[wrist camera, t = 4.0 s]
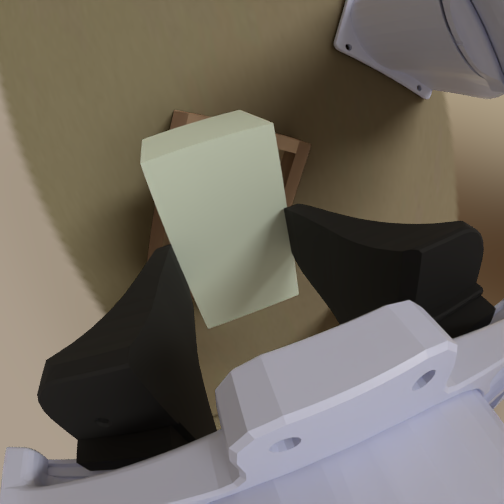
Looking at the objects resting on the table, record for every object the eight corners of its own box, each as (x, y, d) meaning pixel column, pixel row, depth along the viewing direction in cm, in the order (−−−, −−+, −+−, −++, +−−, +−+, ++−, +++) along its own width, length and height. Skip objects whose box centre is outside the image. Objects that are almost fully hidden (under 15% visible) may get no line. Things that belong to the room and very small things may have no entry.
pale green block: (239, 109, 13) (273, 122, 9) (268, 250, 17) (298, 294, 14) (142, 139, 12) (140, 163, 9) (193, 277, 17) (208, 329, 14)
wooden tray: (296, 138, 19) (311, 144, 17) (250, 285, 24) (258, 304, 22) (174, 109, 16) (174, 111, 14) (145, 274, 21) (143, 294, 19)
